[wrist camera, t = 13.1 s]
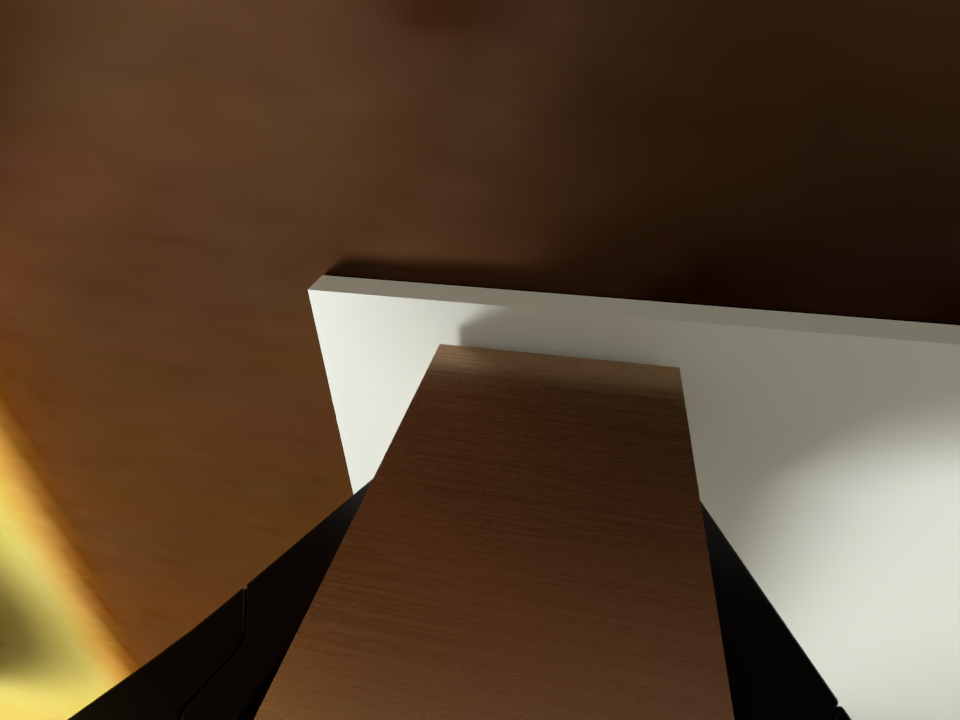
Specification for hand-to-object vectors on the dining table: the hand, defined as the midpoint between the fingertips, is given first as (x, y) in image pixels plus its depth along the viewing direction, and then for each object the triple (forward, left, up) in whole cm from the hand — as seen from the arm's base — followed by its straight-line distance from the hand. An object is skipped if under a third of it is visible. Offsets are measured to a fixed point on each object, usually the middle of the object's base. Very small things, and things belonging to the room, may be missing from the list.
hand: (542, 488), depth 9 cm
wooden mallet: (-6, 0, -1) cm, 6 cm away
